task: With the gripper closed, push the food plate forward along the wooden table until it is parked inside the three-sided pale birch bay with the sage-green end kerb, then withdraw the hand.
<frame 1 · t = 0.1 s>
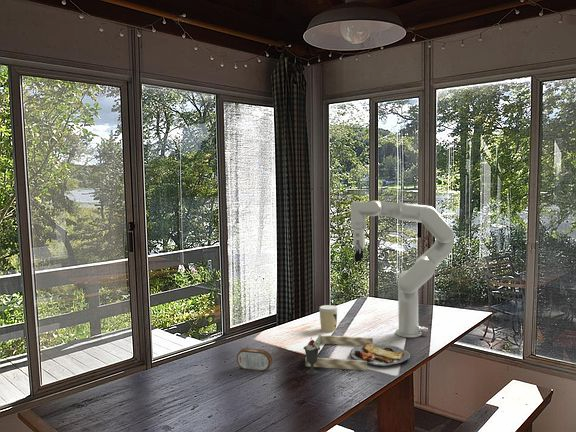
hand: (359, 259, 244), 37 cm above the table, tool pointing down, fingers open, 9 cm apart
food plate: (379, 358, 209), on the table
coffee cup: (328, 330, 251), on the table
tin: (254, 370, 199), on the table
bay: (340, 355, 213), on the table
sundae: (312, 373, 194), on the table
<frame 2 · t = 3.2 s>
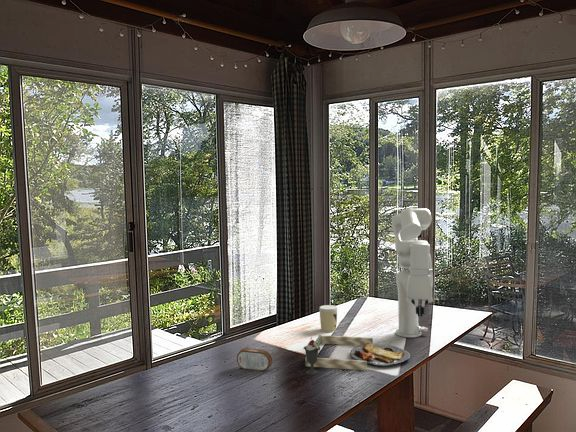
hand: (419, 315, 204), 19 cm above the table, tool pointing down, fingers closed
nothing on the table moved.
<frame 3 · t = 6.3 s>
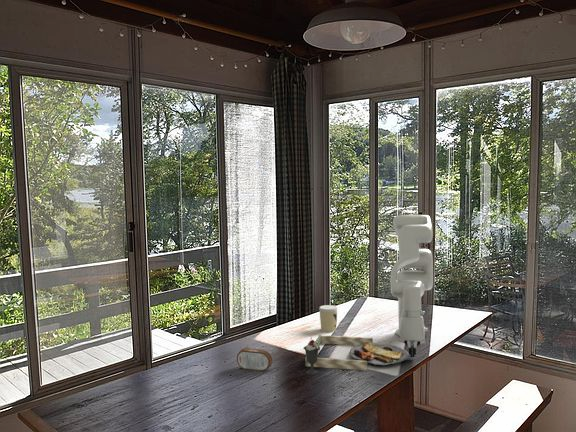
hand: (412, 356, 205), 2 cm above the table, tool pointing down, fingers closed
food plate: (378, 358, 209), on the table, touching gripper
everything else where it was.
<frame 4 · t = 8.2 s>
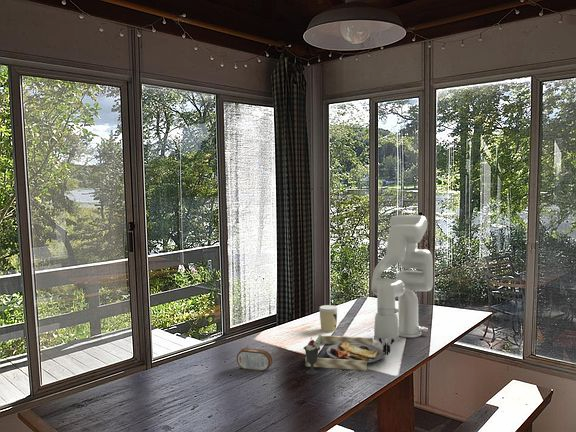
hand: (386, 353, 207), 2 cm above the table, tool pointing down, fingers closed
food plate: (354, 356, 210), on the table, touching gripper
everything else where it was.
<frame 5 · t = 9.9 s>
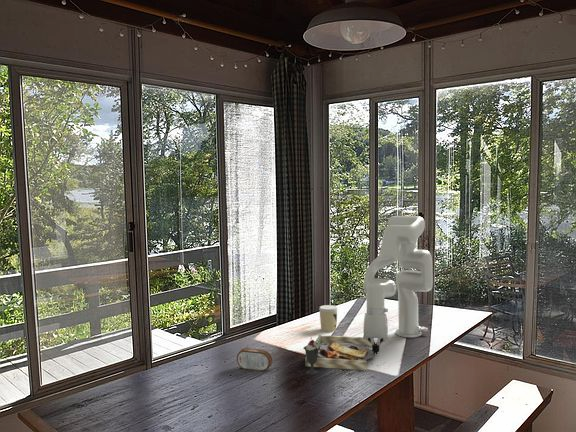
hand: (375, 353, 208), 2 cm above the table, tool pointing down, fingers closed
food plate: (344, 357, 211), on the table, touching gripper
everything else where it was.
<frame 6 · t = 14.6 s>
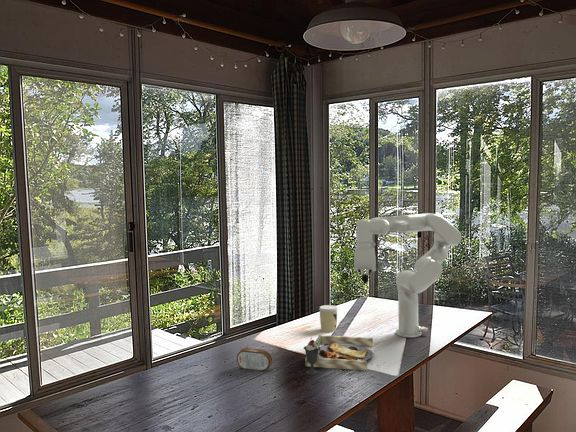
hand: (365, 282, 234), 27 cm above the table, tool pointing down, fingers closed
food plate: (343, 357, 211), on the table
everything else where it was.
at the end: food plate inside the target area (1.4 cm from its centre), on the table; food plate moved 15.3 cm from its start; food plate tilted 0° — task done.
